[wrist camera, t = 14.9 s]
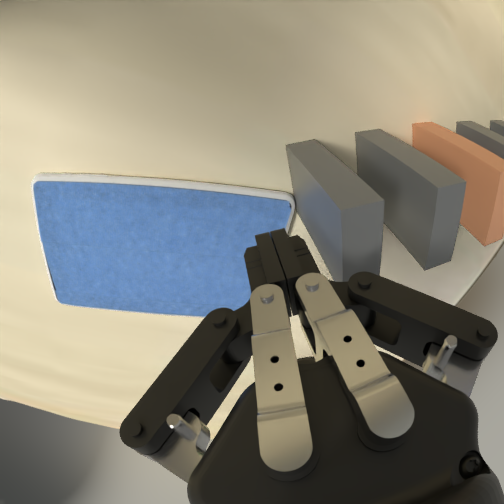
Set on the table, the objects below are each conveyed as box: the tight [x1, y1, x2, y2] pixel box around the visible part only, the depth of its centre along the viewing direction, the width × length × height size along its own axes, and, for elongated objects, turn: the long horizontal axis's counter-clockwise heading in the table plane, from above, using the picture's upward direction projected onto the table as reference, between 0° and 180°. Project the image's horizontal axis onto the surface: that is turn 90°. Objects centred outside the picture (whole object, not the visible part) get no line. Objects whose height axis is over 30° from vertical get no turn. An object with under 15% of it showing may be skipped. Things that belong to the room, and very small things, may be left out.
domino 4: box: [412, 122, 504, 246], centre depth 16 cm, size 2×5×9 cm, turn 12°
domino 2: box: [355, 129, 466, 271], centre depth 16 cm, size 2×5×9 cm, turn 12°
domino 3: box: [456, 121, 504, 159], centre depth 16 cm, size 2×5×9 cm, turn 12°
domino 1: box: [286, 139, 384, 282], centre depth 16 cm, size 2×5×9 cm, turn 12°
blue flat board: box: [31, 173, 295, 318], centre depth 22 cm, size 19×13×1 cm, turn 79°
